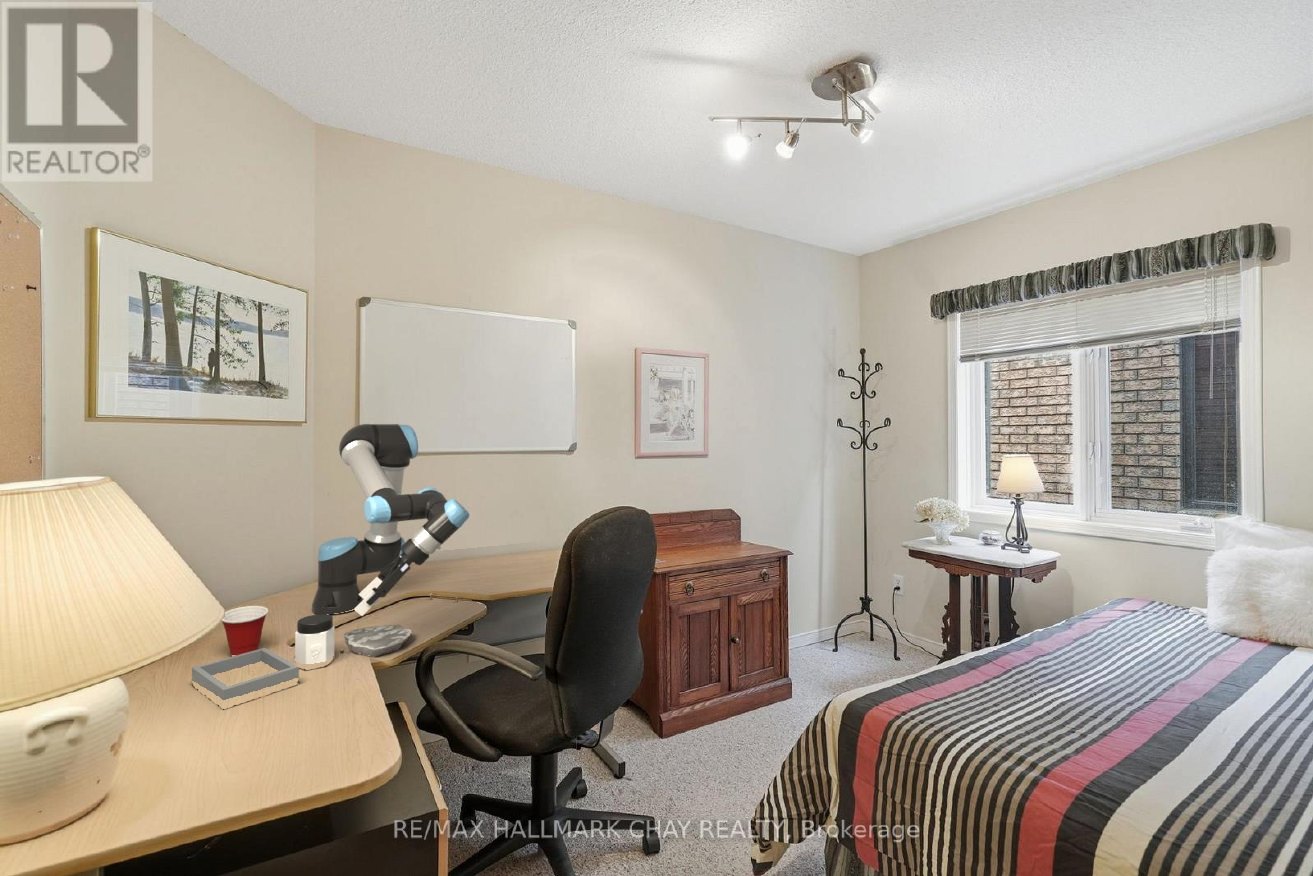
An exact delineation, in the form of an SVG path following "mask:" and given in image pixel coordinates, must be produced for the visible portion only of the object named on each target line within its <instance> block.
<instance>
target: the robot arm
mask: <svg viewBox="0 0 1313 876" xmlns="http://www.w3.org/2000/svg"><path fill="white" fill-rule="evenodd" d="M338 446H339V448H338V451H339V455H340V458H341V460H342V462H344V463H343V464H345V465H347V466H349V467H350V470H351V471H352V473H353V475H354V477H355V478H356V480H357V482H358V484H359V486H360V488H361V489H362V491H363V494H364V495H365V498H366V499H365V502H364V508H363V509H364V510H363V511H364V515H365V519H366V522H368V523H369V524H370V529H369V530H367V531H366V532H365V533H364V538H363V539H362V540H359V539H358V538H357V537H355V536H347V537H337V538H333V539H330V540H328V541H325V542H323V543H322V544H320V546H319V548H318V553H317V554H318V555H317V564H318V566H317V569H318V570H317V574H318V576H317V579H318V580H317V582H318V583H317V590H316V592H315V595H314V599H313V601H312V603H311V611H312V613H313V612H314V613H313V614H315V613H317V614H316V615H318V614H334V613H341V612H345V611H349V610H352V609H354V610H355V612H356V613H357V614H358V615H360V616H361V617H363V616H364V615H365V614H366V613H367V612H368V611H369V610H370V609H371V608H372V607H374V605H375V604H376V603H377V602H379V601H380V599H382V598H385V597H386V596H387V594H388V593H389V592H390V591H391V590H392V589H393V588H394V587H395V585H396V584H397V583H398V582H399V581H400V580H401V579H402V578H403V577H404V575H405V574H406V573H407V572H408V571H409V570H410V569H411V567H410V566H411V565H412V563H414V564H415V565H417V566H421V565H423V564H424V563H425V562H426V561H427V560H428V559H429V558H430V555H432V554H434V553H435V552H436V550H437V551H439V550H441V548H442V547H441V546H443V544H444V543H445V542H446V541H447V540H448V539H450V538H451V536H453V535H454V534H455V533H456V532H457V531H459V529H460V528H461V527H462V526H463V525H464V524H465V522H466V521H467V520H468V519H469V518H470V513H469V511H468V510H467V509H466V508H465V507H464V506H463V505H462V504H461V503H460V502H458V500H457V499H455V498H451V499H449V500H447V499H446V497H445V495H444V494H443V493H442V492H440V491H439V490H438V489H436V488H435V487H431V486H430V487H429V486H428V487H426V486H425V487H424V488H423V489H420V490H419V491H418V492H416V493H408V494H402V490H403V483H404V475H405V469H407V467H409V466H410V462H411V460H413V459H415V458H417V455H418V453H419V441H418V437H417V433H416V432H415V430H414V429H413V427H412V426H411V425H408V424H399V423H397V424H394V423H381V424H380V423H378V424H377V423H373V424H370V423H363V424H359V425H356V426H353V427H352V428H350V429H349V430H348V431H347V432H346V433H345V434H344V435H343V436H342V437H341V439H340V442H339V445H338ZM416 520H417V521H418V520H427V521H426V522H425V523H424V524H423V525H422V526H421V527H419V528H418V530H416V531H415V532H414V533H412V534H413V535H411V537H412V538H408V539H407V540H406V541H405V539H404V537H402V535H401V533H400V532H399V531H398V523H399V522H405V521H407V522H408V521H416ZM373 573H379V574H378V576H376V577H375V578H374V579H373V580H372V581H371V582H370V583H368V584H367V586H366V587H364V588H363V589H362V590H361V591H360V588H359V585H358V576H359V575H365V574H373Z"/></svg>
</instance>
